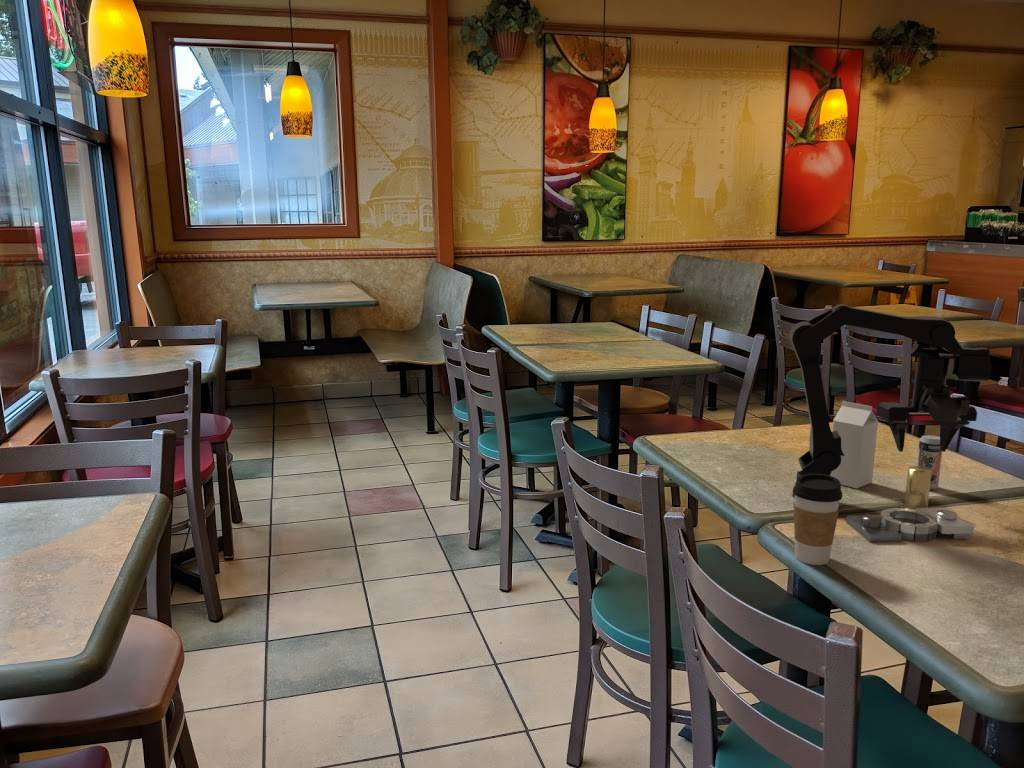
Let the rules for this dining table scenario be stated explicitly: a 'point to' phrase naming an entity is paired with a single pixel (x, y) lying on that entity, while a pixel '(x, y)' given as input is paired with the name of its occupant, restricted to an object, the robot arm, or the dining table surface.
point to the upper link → (928, 522)
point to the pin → (917, 487)
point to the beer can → (930, 457)
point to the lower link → (885, 529)
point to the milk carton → (856, 444)
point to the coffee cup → (815, 517)
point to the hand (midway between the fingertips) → (921, 451)
